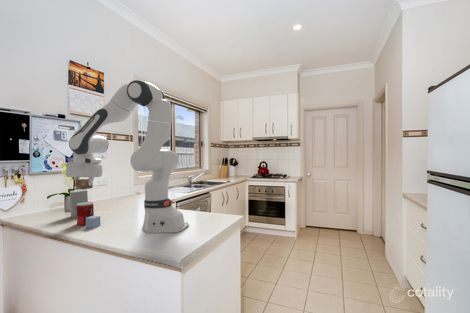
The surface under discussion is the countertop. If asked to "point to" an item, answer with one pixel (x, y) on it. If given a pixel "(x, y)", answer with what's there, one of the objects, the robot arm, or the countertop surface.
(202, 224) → the countertop surface
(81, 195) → the skincare box
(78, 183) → the walnut block
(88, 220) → the slate block
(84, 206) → the canned food
